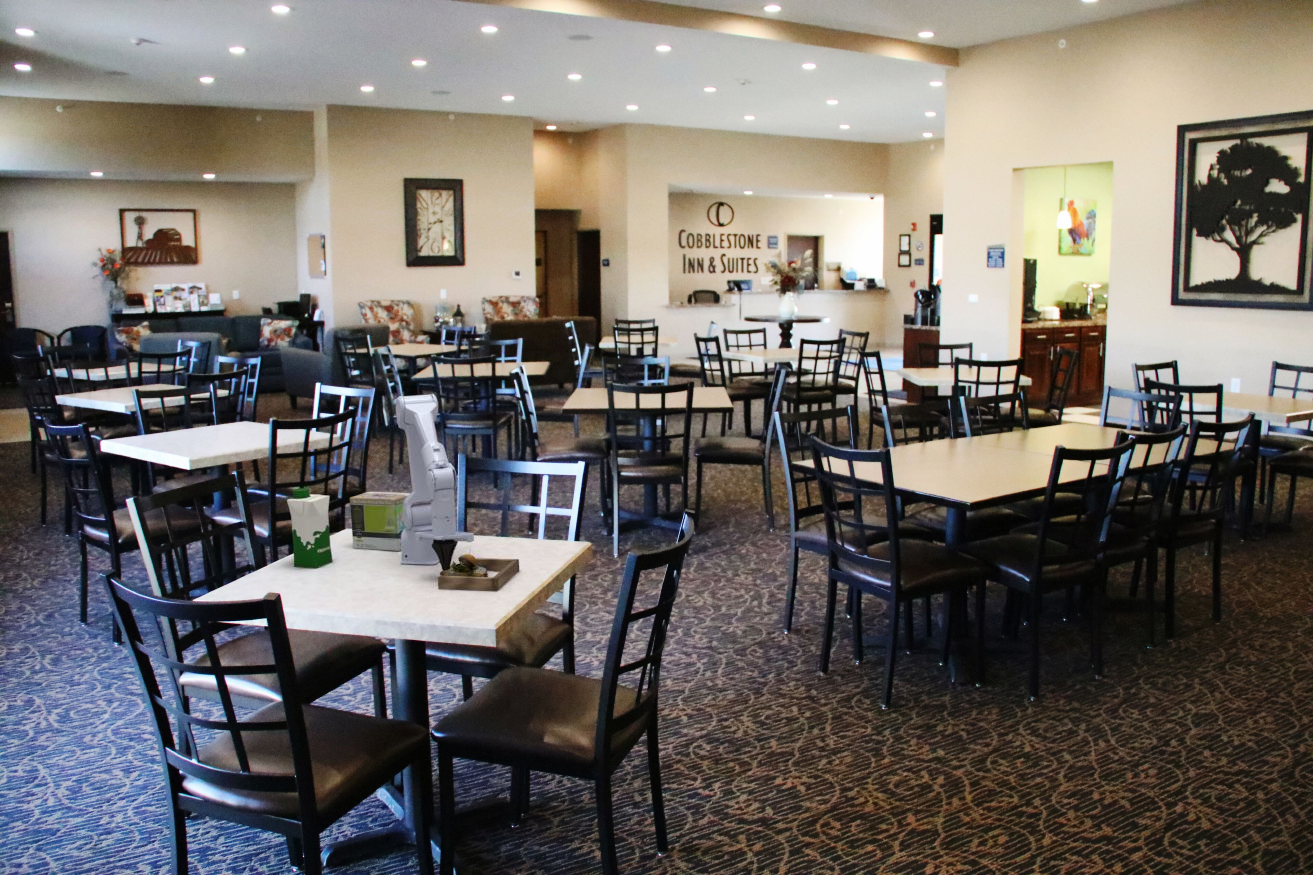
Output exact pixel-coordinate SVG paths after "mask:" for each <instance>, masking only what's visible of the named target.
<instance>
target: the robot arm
mask: <svg viewBox="0 0 1313 875" xmlns="http://www.w3.org/2000/svg"><path fill="white" fill-rule="evenodd" d="M438 413H439V402H438V399H437V396H436V395H435V394H434V393H429V394H419V395H406V396H402V395H399V396H397V399H396V401H395V416H396V421H397V422H396V423H397V425H398V428H399V429H401V430H404V433H405V436H406V444H407V453H408V463H409V464H408V465H409V471H410V480H411V489H412V491H411V492H410V493H411V494H409V495H408V496H407V497H406V498H405V499H404V501H403V521H404V524H405V526H406V527H407V528H405V529H404V530H403V531H402V534H401V550H400V551H401V552H400V553H401V561H400V564H401V565H427V566H428V565H430V566H433V565H436V564H438V563H440V566H441V571H443V570H449V569H450V568H451V565H452V559H453V555H454V553H455V550H456V549H457V548H456V547H457V545H458V543H459V542H464V543H465V542H466V543H473V542H474V541H475V536H474V534H475V533H474V532H467V531H460V530H459V531H458V530H457V524H456V508H455V507H456V503H455V490H457V487H458V486H457V485H458V479H457V478H458V477H457V472H456V469H455V467H454V466H453V464H452V463H451V462H449V459H448V456H447V452H446V449H445V446H444V445H443V444H442V442H441V443H440V442H438V435H437V430H436V426H435V421H436V420H437V417H438ZM422 502H424V503H422ZM413 503H415V504H414V505H412V504H413Z"/></svg>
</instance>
